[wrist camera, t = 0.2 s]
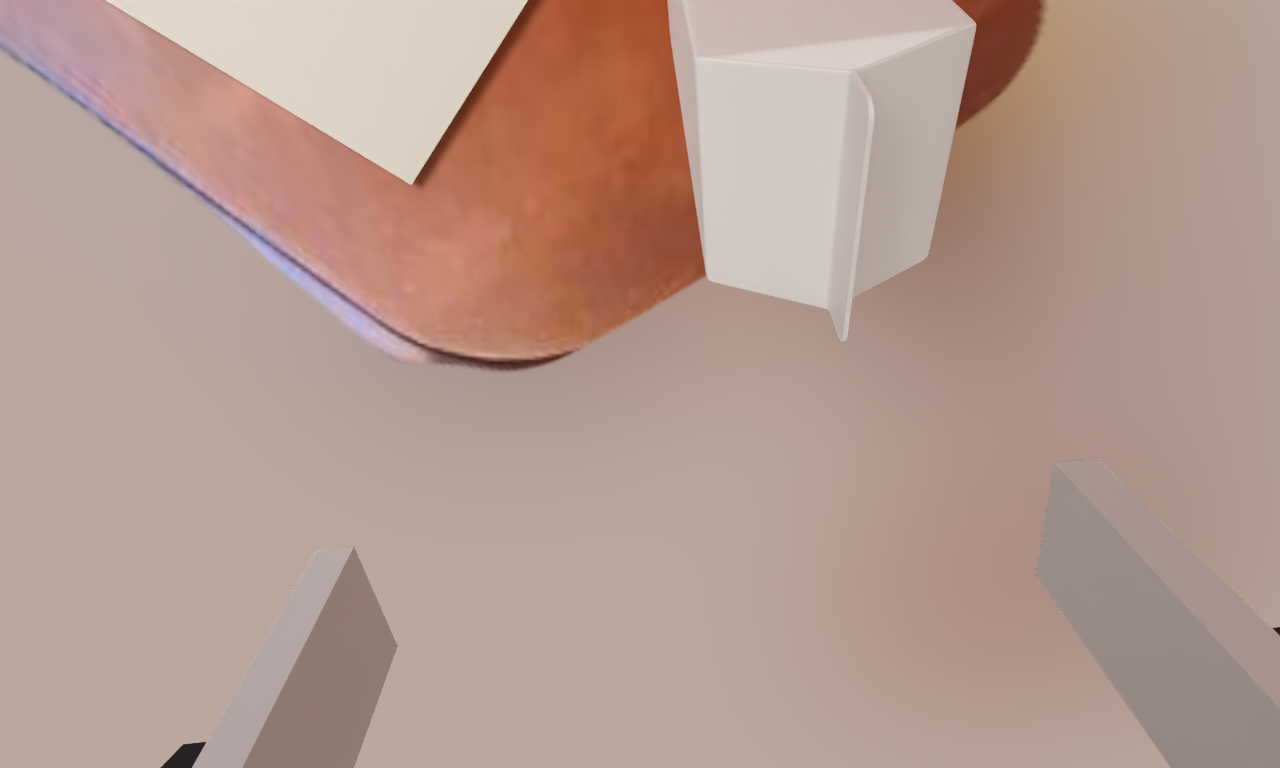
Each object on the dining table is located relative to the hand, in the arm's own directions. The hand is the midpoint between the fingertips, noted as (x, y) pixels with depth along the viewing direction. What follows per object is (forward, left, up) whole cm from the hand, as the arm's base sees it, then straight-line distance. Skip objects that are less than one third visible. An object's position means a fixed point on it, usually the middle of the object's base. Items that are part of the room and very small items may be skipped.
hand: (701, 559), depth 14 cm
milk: (-5, 0, -27) cm, 28 cm away
